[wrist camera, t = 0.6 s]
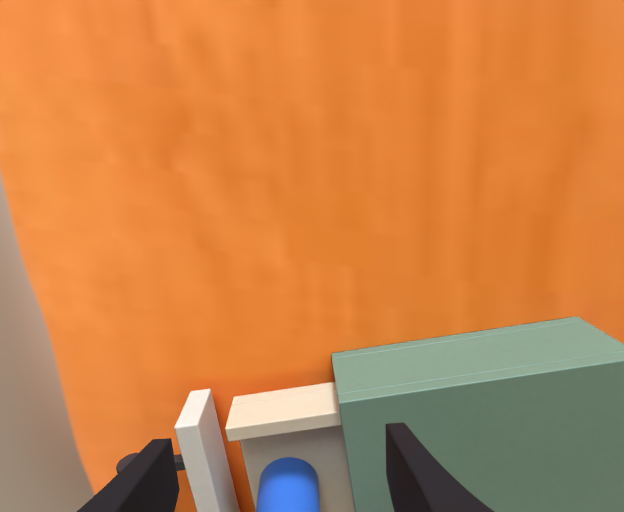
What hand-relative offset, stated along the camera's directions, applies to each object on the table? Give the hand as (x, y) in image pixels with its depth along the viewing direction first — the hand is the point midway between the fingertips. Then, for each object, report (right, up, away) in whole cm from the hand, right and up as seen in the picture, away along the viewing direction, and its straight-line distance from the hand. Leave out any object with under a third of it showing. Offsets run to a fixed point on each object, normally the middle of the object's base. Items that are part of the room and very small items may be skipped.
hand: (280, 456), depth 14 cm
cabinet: (+10, -4, +12) cm, 16 cm away
